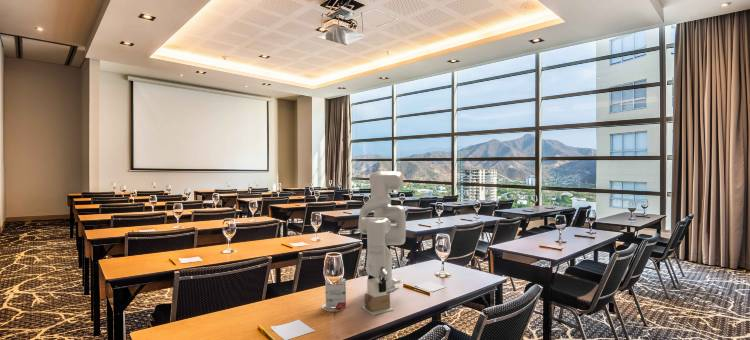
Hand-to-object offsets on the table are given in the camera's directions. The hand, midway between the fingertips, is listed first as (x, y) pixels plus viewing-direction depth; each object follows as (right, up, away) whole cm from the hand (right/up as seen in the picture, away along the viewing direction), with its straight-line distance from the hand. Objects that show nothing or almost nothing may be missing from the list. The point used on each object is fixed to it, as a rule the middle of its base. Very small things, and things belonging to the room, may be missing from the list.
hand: (376, 288), depth 170 cm
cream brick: (0, -2, 0) cm, 2 cm away
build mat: (0, -9, 0) cm, 9 cm away
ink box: (-18, -9, +4) cm, 21 cm away
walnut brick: (0, -8, 0) cm, 8 cm away
